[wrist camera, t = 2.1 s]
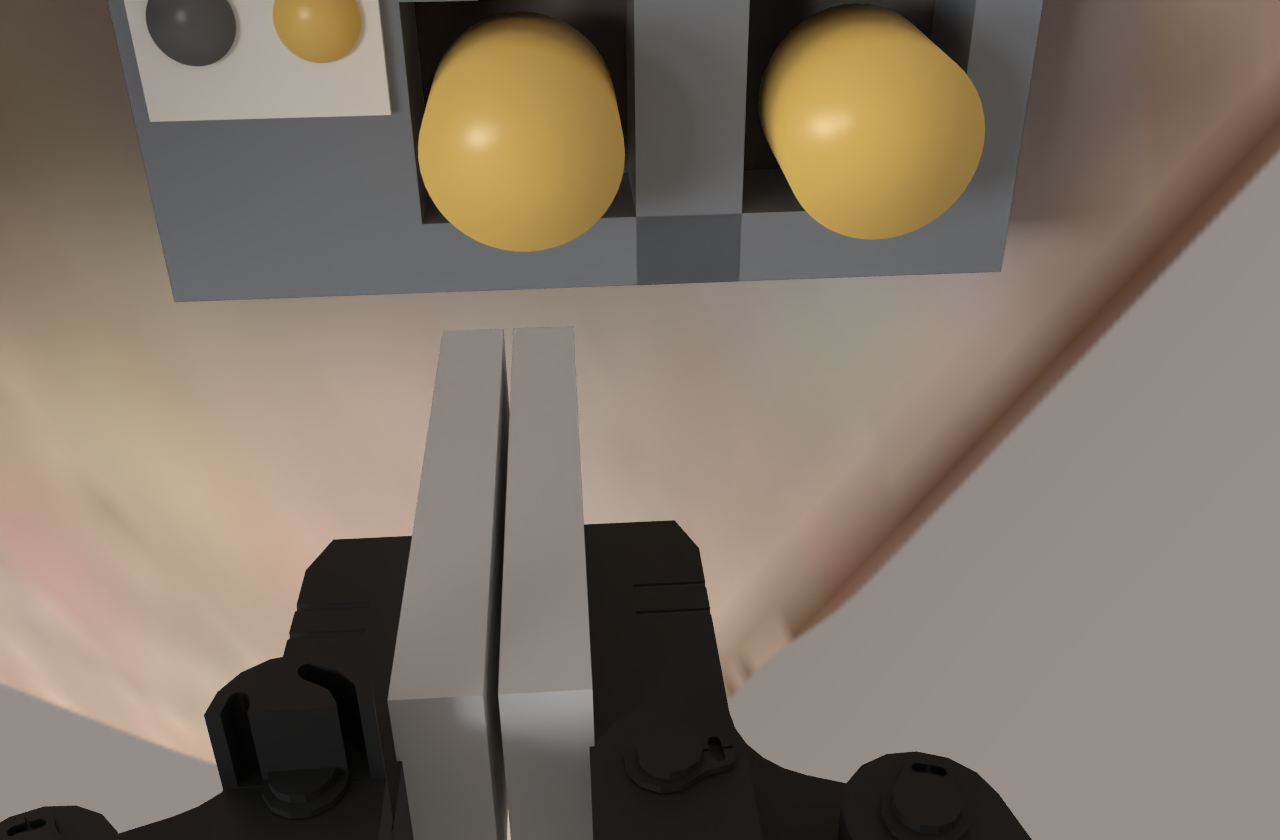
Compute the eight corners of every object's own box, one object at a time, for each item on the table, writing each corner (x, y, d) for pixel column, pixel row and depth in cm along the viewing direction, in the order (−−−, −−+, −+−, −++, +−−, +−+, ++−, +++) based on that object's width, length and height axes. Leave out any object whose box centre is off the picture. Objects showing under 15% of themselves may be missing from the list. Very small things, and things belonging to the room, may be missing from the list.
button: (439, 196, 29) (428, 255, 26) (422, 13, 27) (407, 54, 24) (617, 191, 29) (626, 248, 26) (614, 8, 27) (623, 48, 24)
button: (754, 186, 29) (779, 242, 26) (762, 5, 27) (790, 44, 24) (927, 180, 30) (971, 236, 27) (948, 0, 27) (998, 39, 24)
